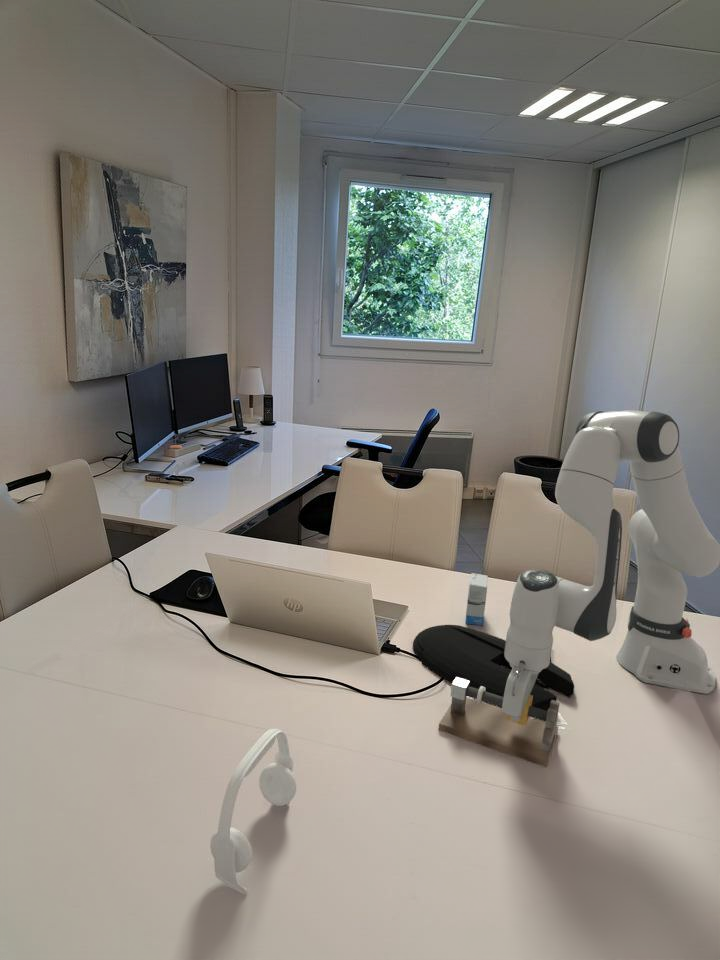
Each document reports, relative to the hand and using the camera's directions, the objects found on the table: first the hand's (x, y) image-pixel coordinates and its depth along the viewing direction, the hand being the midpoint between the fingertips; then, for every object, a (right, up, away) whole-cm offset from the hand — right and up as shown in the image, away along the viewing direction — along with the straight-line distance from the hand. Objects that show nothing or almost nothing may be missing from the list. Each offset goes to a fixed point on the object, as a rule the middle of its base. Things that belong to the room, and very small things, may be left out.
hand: (518, 711), depth 133 cm
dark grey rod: (-2, -1, +1) cm, 2 cm away
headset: (-49, -11, -27) cm, 57 cm away
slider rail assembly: (-4, -5, +3) cm, 7 cm away
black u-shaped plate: (-1, +1, +27) cm, 27 cm away
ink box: (0, +8, +51) cm, 52 cm away
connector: (-12, -2, +6) cm, 13 cm away
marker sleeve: (0, -1, 0) cm, 1 cm away
